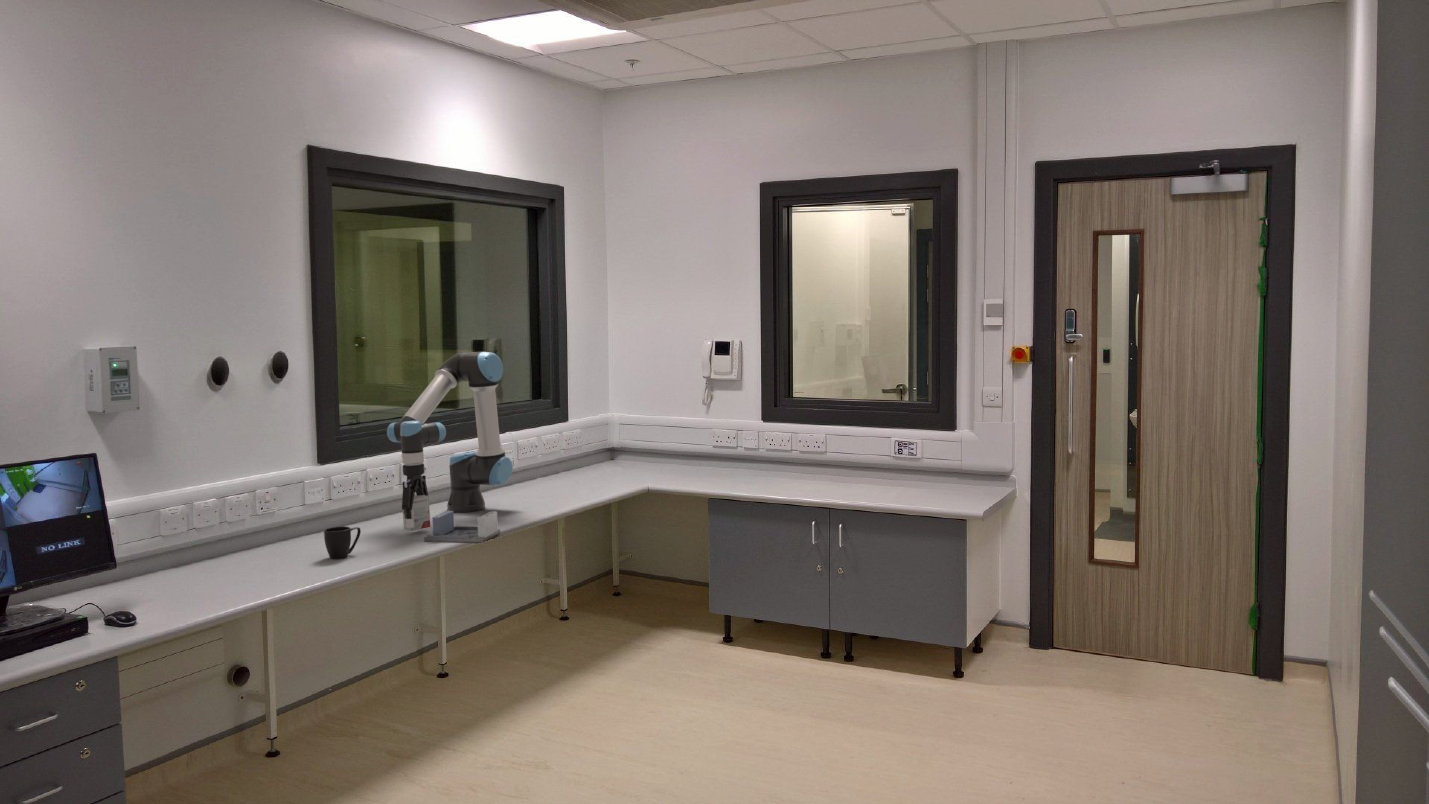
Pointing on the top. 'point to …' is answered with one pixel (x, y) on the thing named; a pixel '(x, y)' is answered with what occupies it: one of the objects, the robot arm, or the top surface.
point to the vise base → (470, 531)
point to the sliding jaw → (443, 523)
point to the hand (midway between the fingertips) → (416, 524)
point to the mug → (339, 541)
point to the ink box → (419, 513)
